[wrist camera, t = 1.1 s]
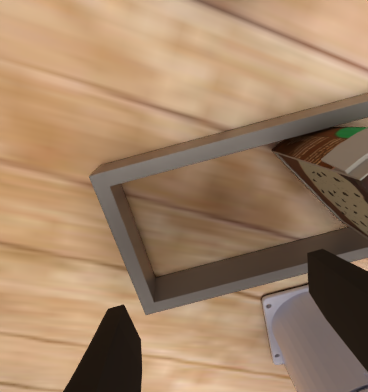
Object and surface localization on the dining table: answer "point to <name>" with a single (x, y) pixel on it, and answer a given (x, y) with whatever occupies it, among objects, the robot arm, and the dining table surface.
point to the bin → (237, 266)
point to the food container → (333, 170)
